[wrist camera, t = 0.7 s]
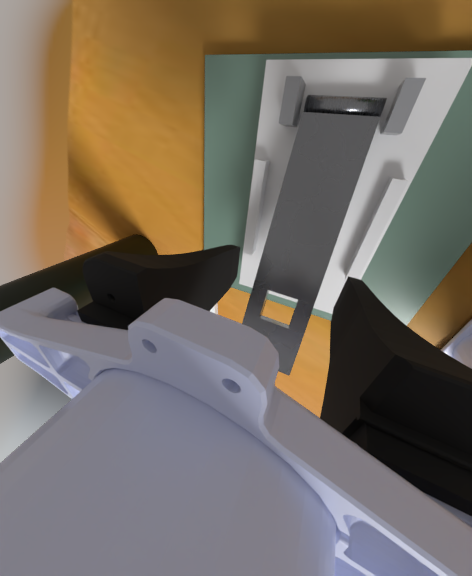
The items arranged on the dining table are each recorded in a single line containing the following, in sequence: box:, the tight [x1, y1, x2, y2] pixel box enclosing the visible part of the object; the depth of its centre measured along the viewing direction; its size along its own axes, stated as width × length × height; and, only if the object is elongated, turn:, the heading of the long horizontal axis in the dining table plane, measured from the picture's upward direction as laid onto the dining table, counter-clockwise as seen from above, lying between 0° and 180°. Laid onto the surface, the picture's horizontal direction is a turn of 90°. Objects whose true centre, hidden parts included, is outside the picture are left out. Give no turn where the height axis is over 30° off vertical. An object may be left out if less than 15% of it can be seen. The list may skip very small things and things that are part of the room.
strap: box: [242, 95, 387, 375], centre depth 13 cm, size 16×4×1 cm, turn 174°
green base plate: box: [204, 50, 472, 326], centre depth 17 cm, size 22×20×6 cm
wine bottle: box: [0, 235, 158, 364], centre depth 20 cm, size 6×6×30 cm
